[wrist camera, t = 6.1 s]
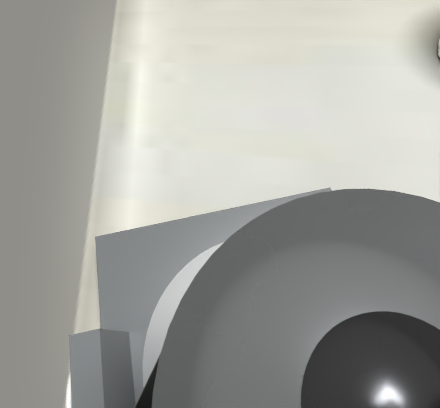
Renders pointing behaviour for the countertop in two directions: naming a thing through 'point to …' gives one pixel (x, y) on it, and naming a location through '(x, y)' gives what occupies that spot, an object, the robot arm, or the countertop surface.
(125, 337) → the scale
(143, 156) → the countertop surface
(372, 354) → the metal canister
